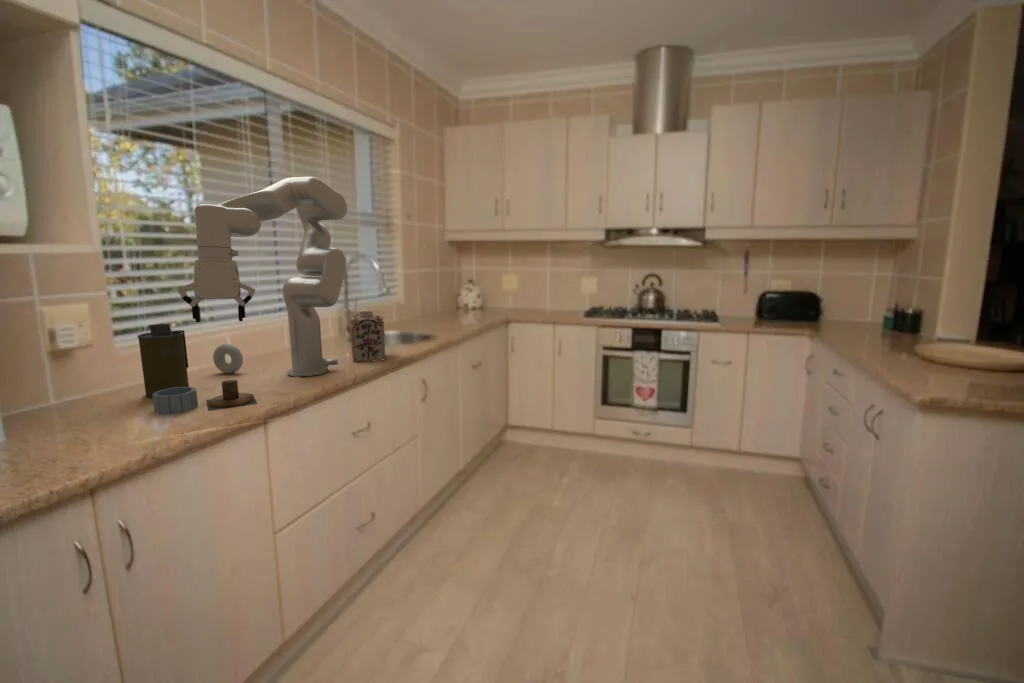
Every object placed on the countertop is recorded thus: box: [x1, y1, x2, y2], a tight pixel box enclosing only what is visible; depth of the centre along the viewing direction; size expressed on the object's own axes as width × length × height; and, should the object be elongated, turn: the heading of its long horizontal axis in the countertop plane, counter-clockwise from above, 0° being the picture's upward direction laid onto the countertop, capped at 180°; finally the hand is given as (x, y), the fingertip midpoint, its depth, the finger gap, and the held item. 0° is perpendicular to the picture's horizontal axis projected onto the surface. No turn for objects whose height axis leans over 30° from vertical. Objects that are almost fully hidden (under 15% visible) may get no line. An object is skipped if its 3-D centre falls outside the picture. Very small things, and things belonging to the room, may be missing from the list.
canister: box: [137, 323, 190, 399], centre depth 136 cm, size 11×10×20 cm
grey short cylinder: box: [152, 386, 199, 415], centre depth 124 cm, size 9×9×5 cm
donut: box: [212, 343, 244, 374], centre depth 162 cm, size 10×4×10 cm, turn 81°
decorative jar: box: [349, 310, 386, 363], centre depth 186 cm, size 12×12×18 cm
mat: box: [206, 393, 258, 412], centre depth 130 cm, size 11×11×1 cm
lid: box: [208, 379, 254, 408], centre depth 129 cm, size 10×10×6 cm
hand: (219, 321), depth 129 cm, fingers open, 9 cm apart
